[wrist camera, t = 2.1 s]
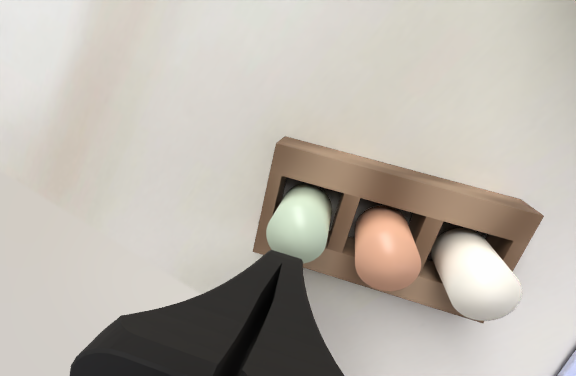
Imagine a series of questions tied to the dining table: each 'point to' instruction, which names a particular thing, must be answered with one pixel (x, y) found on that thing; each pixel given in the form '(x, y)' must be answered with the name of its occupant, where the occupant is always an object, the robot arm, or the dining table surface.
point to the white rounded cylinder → (475, 275)
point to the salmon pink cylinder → (385, 249)
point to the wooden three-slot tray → (403, 195)
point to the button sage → (301, 223)
